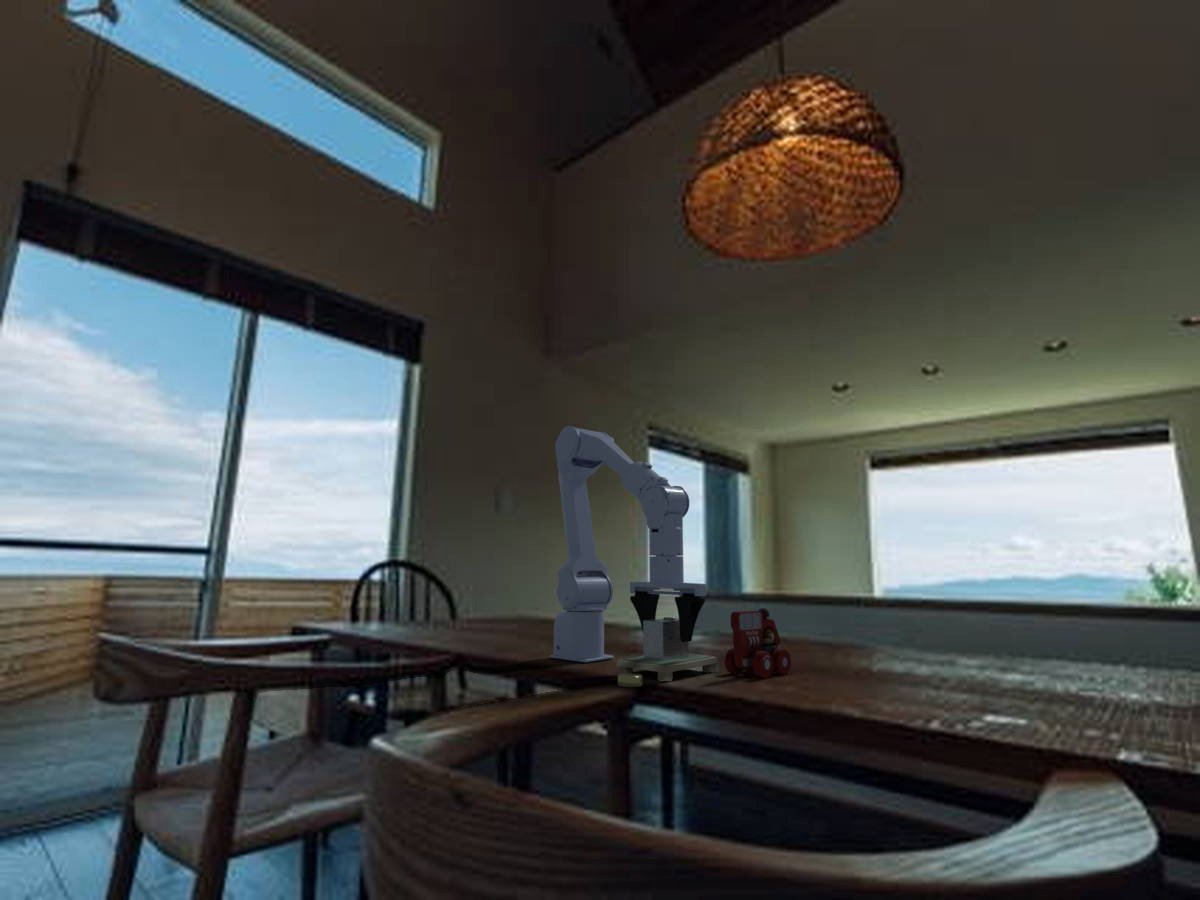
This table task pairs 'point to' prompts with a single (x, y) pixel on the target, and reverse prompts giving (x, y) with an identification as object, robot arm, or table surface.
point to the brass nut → (630, 680)
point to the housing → (663, 640)
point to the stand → (667, 665)
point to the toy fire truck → (756, 645)
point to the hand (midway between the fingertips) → (667, 639)
